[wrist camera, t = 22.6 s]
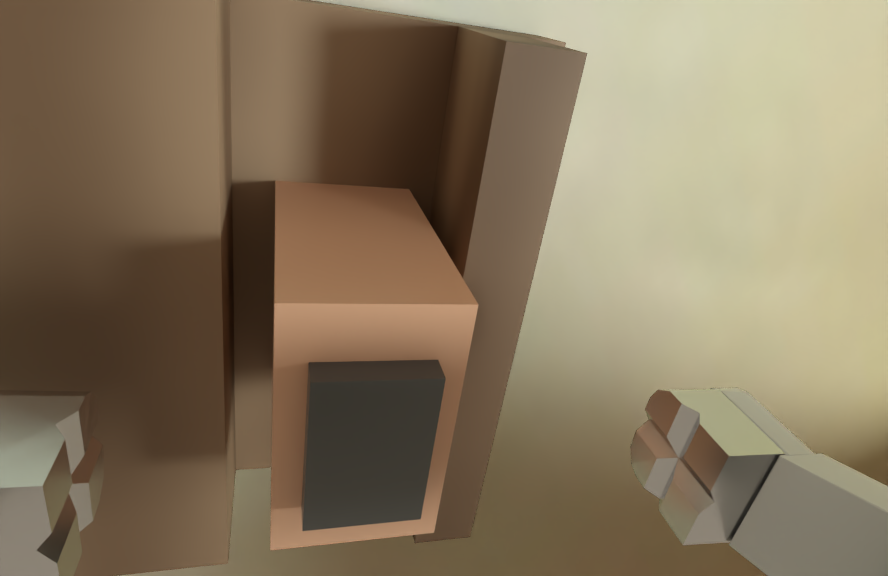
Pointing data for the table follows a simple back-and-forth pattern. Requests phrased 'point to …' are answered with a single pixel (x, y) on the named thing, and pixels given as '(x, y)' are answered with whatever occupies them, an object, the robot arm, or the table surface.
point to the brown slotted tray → (245, 223)
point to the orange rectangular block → (361, 364)
